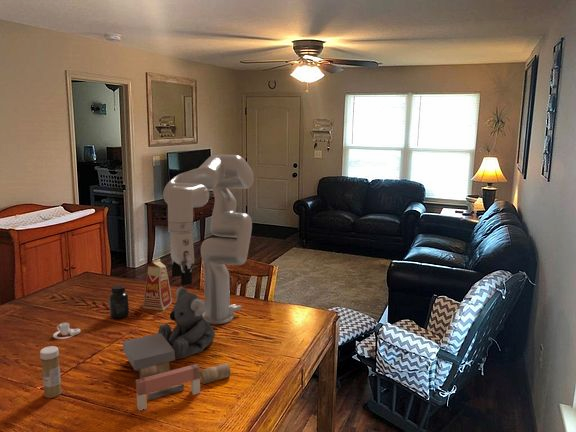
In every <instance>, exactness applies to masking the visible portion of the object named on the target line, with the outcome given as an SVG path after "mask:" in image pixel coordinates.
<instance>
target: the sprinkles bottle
mask: <svg viewBox="0 0 576 432" xmlns="http://www.w3.org/2000/svg"><path fill="white" fill-rule="evenodd" d="M59 353H60V352H59V348H58V347H57V346H53V345H50V346H46V347H42V349H41V350H39V356H40V357H39V358H40V360H41V370H42V371H41V372H42V385H43V391H44V392H43V395H44V397H45V398H48V399H49V398H50V399H52V398H55V397H58V396H60V395H61V394H62V393H63V390H62V385H61V383H62V379H61V368H60V360H59V355H60V354H59Z"/></svg>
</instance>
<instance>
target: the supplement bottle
mask: <svg viewBox="0 0 576 432" xmlns="http://www.w3.org/2000/svg"><path fill="white" fill-rule="evenodd" d="M108 300H109V315H110V319H112V320H115V321H117V320H118V321H119V320H124V319H127V318H128V317H129V315H130V306H129V305H130V303H129V295H128V293H127V292H126V287H125V285H122V284H118V285H113V286H111V294H110V295H109V297H108Z"/></svg>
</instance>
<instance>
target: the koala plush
mask: <svg viewBox="0 0 576 432" xmlns="http://www.w3.org/2000/svg"><path fill="white" fill-rule="evenodd" d="M176 289H177V290H176V292H175V296H176V301H175V303H174V305H173V308H172V310H171V312H170V314H169V319H170V320H171V321H174V322H175V323H176V325H175V326H174V327H173V330H172V328H171V326H170V324H169V323H164V324H160V325H159V328H158V333H161V334H162V335H163V337H164V338H165V339H166V340H167V342H168V343H169V344H170V346H171V347H172V348H173V349H174V351H175V360H176V359H177V360H180V359H186V358H188V357H190V356H193V355H195V354H199V353H202V352H203V351H204V350H205V349H206V348H208V347H209V346H210V344H211V343H212V342H213V340H214V339H215V337H216V333H215V330H214V327H212V324H209V323H208V322H206V320H205V319H204V318H203V316H202V314H203V313H205V300H203V299H201V298H200V297H199V296H198V295H197V294H195V293H194V292H188V290H187V289H186V288H184V287H183V286H179V288H176ZM158 333H157V334H158Z"/></svg>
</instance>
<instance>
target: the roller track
mask: <svg viewBox="0 0 576 432" xmlns="http://www.w3.org/2000/svg"><path fill="white" fill-rule="evenodd" d="M169 362H170V361H169ZM169 362H165V363H161V364H157V365H153V366H149V367H146V368H142V369H138V370H135V371H136V372H138V373H139V377H140V378H139V379H141V378H145V377H149V376H152V375H156V374H160V373H164V372H167V371H171V367H170V363H169ZM184 385H185V384H184V383H182V384H179V385H175V386H172V387H168V388H165V389H161V390H158V391H154V392H151V393H147V400H148V401H150V400H154V399H158V398H161V397H164V396H168V395H171V394H175V393H177V392H182V391H184V390H185V386H184Z"/></svg>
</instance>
